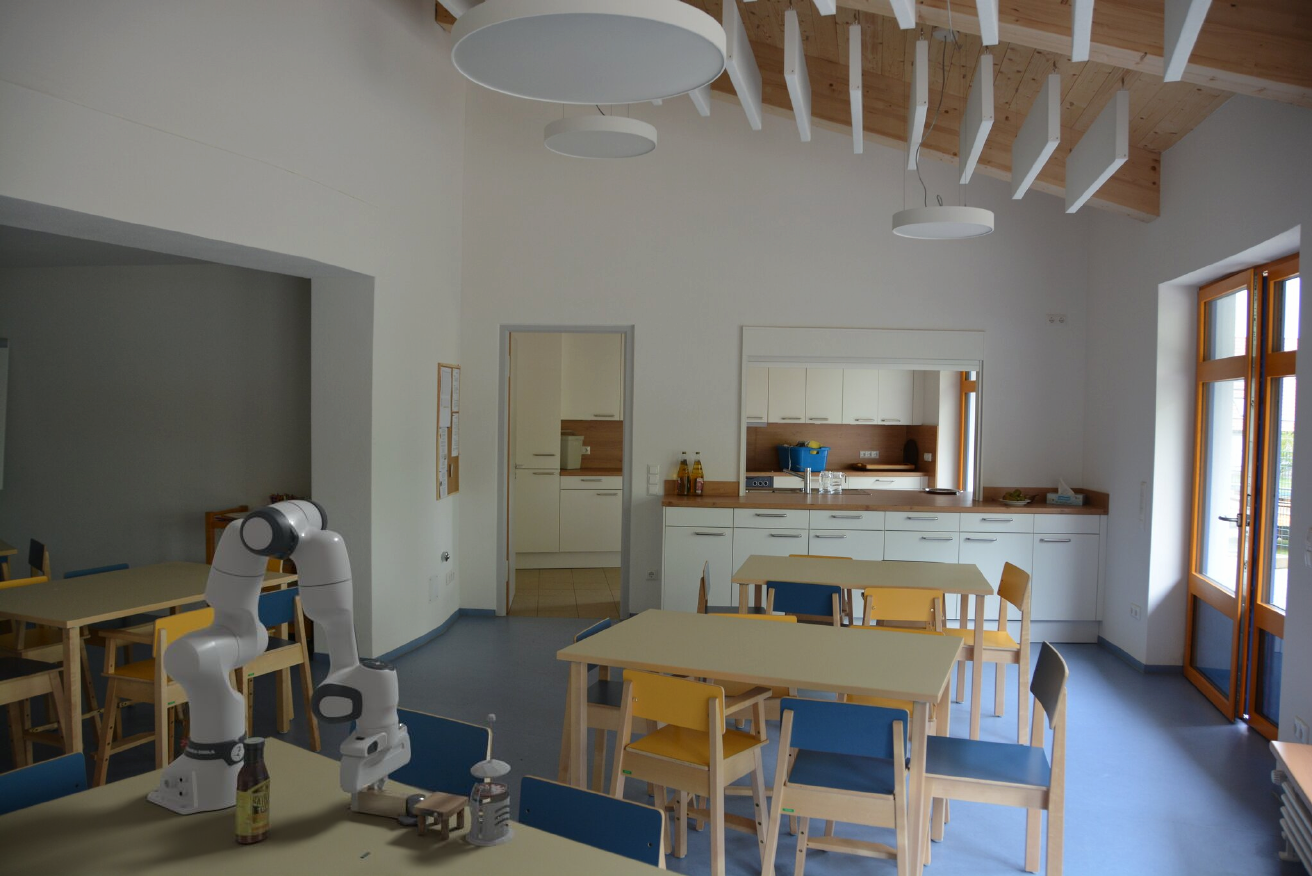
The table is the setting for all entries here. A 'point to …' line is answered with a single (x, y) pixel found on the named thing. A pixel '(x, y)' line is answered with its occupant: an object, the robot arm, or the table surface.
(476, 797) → the french press
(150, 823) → the table surface
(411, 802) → the cam lever
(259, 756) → the sauce bottle
